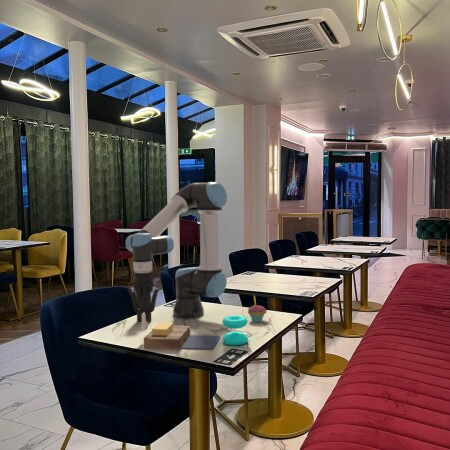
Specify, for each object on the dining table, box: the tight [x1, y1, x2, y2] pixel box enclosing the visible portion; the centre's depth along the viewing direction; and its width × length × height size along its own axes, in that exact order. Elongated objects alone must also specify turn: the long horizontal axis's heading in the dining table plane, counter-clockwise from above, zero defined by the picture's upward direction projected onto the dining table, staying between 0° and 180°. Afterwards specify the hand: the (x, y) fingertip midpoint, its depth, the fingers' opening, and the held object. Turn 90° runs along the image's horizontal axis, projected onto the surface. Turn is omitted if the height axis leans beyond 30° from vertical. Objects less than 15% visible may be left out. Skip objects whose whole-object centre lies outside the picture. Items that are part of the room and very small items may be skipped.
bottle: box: [135, 291, 152, 323], centre depth 217 cm, size 7×7×20 cm
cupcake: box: [247, 295, 267, 323], centre depth 214 cm, size 9×8×12 cm
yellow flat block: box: [151, 322, 174, 335], centre depth 186 cm, size 9×6×2 cm, turn 171°
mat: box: [180, 334, 221, 351], centre depth 184 cm, size 16×12×1 cm
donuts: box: [222, 314, 249, 347], centre depth 183 cm, size 10×10×10 cm
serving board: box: [143, 325, 191, 351], centre depth 186 cm, size 18×14×4 cm
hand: (145, 329), depth 187 cm, fingers closed
